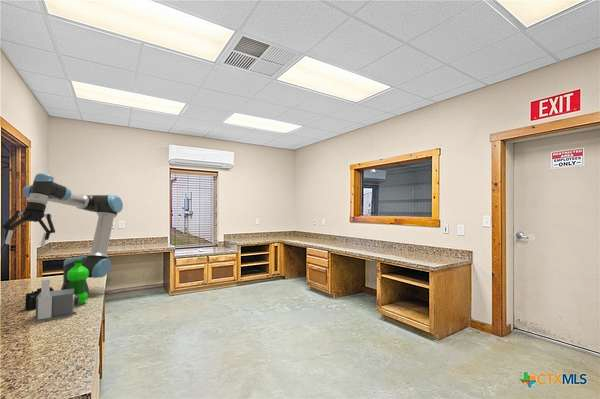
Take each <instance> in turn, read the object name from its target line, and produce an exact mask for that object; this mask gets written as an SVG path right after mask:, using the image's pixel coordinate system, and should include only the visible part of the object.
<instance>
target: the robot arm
mask: <svg viewBox="0 0 600 399" xmlns="http://www.w3.org/2000/svg"><path fill="white" fill-rule="evenodd" d="M22 194H23V196H24V198H26V199H27V202H26V206H25V208H24V211H20V210H16V211H15V212H14V214H13V215H12V216H11V217H10V218H9V219H8V220H7V221H5V223H4V224H3V225H2V227H1V228H2V229H4V230H6V231H5V234H4V237H6V239H5V241H4V244H5V245H10V243H11V240H12V237H13V233H14V229H16V228H17V227H19V226H20V225H22V224H23V223H25V222H34V223H39V224H40V226H41V227H42V229H43V230H44V231H45V232H43V234H42V238H41V243H40V247H42V248H43V247H45V244H46V241H48V240H49V238H50V236H51V234H55V233H56V230H55V227H54V223H53V221H52V214H51V213H45V212H46V209H47V204H48V202H52V203H56V204H62V205H65V206H72V207H75V208H77V209H79V210H83V211H88V212H92V213H96V215H97V216H98V218H97V223H96V226H95V227H96V228H95V232H94V236H93V241H92V246H91V249H90V253H88V254H87V255H80V256H76V257H75V256H74V257H70V258H66V259H65V260H63V269H62V272H63V275H62V276H63V280H62V284H61V288H60V290H65V289H69V287H70V281H69V280H68V279H67V273H68V271H69V270H70V269H71V268H73V267H74V266H75V263H74V260H76V259H83V263H82V266H84V267H85V268H87V269H88V271H89V276H88V278H90V279H92V278H93V279H97V278H98V279H99V278H100V279H101V278H104V277H106V275H108V274H109V273H110V270H112V269H111V268H112V262H111V260H110V259H109V255H108V254H107V253H108V248H109V247H108V246H109V243H110V240H111V233H112V229H113V223H114V219H115V218H116V217H117V216H118V213H120V212H121V211H123V209H124V208H123V207H124V204H123V200H122V198H121V197H120V196H119V195H114V194H96V195H95V194H94V195H93V194H92V195H91V194H89V195H87V194H76V193H73V192H72V190H71V189H70V188H68V187H67V186H65V185H64V186H63V185H62V184H59V183H57V182H55V177H54V176H53V175H51V174H48V173H37V174H35V176H34V180H33V182H32V184H30V185H26V186H24V187H23V190H22ZM20 216H22V217H21V218H19V217H20ZM43 218H45V219H46V220H47V224H48V226H49V228H48V226H47V225H46V224H45V223H44V221H43ZM17 219H19V220H17ZM16 220H17V221H16ZM88 278H87V279H88ZM86 292H87V294H88V293H89V292H90V288H89V285H88V282H87V281H86Z"/></svg>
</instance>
